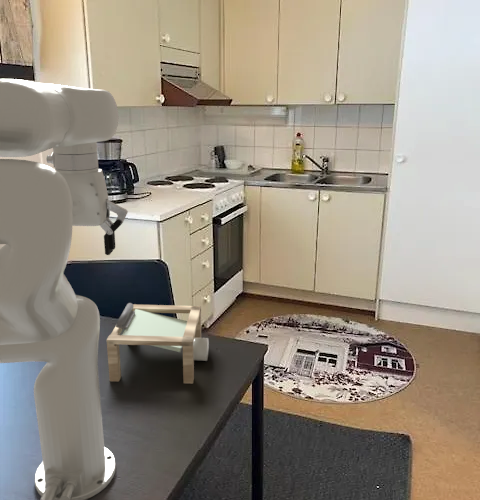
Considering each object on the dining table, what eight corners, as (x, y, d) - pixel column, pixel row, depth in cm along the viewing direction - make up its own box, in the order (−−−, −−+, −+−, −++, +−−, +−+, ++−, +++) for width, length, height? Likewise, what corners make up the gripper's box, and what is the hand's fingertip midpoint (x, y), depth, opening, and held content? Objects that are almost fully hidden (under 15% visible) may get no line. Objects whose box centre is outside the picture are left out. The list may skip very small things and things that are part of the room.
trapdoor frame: (192, 383, 107) (192, 342, 104) (109, 381, 108) (106, 339, 105) (201, 342, 124) (200, 306, 121) (129, 340, 125) (127, 304, 122)
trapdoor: (180, 352, 108) (183, 339, 107) (112, 336, 107) (114, 323, 106) (187, 325, 120) (190, 313, 119) (126, 310, 119) (129, 298, 118)
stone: (183, 358, 113) (205, 359, 113) (185, 335, 115) (207, 336, 115) (186, 361, 118) (207, 362, 118) (188, 339, 120) (209, 340, 120)
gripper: (19, 164, 87) (31, 257, 92) (118, 166, 86) (124, 259, 92) (37, 158, 94) (47, 245, 99) (129, 160, 93) (133, 247, 99)
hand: (84, 252), depth 95 cm, fingers open, 9 cm apart
